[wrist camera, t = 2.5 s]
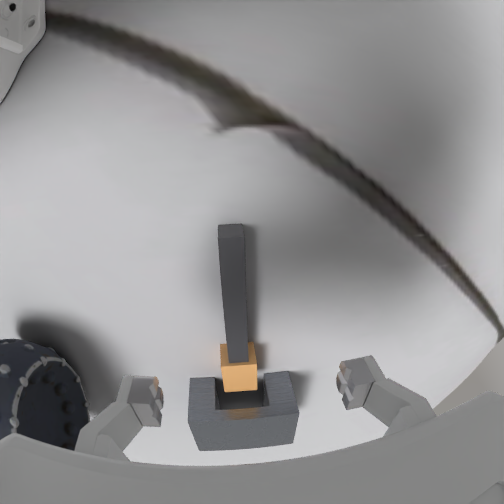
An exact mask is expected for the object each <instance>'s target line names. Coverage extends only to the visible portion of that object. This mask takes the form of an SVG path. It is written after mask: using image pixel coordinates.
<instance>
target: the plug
mask: <svg viewBox="0 0 504 504" xmlns="http://www.w3.org/2000/svg"><path fill="white" fill-rule="evenodd" d="M218 246H219V260H220V273H221V285H222V297H223V309H224V320H225V330H226V341H227V344H220V352H221V370H222V377H223V385H224V391H225V392H235V391H248V390H257V361H256V355H255V349H254V343H253V342H248V331H247V302H246V271H245V239H244V232H243V228H242V224H226V225H218Z"/></svg>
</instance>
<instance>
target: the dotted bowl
mask: <svg viewBox="0 0 504 504" xmlns="http://www.w3.org/2000/svg"><path fill="white" fill-rule="evenodd" d="M88 406H89V403H88V401H87V400H86V396H85V393H84V390H83V387H82V385H81V382H80V377H79V375H77V374H76V373H75V372H74V370H73V369H72V368H71V366H70V365H69V364H68V363H67V362H66V361H65V359H64V358H61V357H59V356H58V355H57V353H56V352H55V350H54V349H52V348H51V347H43V346H41V345H38V344H36V343H33V342H30V341H25V340H20V339H3V340H0V440H1V439H3V438H4V437H6V436H8V435H10V434H12V433H17V434H21V435H23V436H26V437H29V438H32V439H35V440H38V441H41V442H44V443H47V444H50V445H54V446H57V447H61V448H64V449H68V450H72V451H74V450H75V446H76V443H77V440H78V436H79V433H80V430H81V429H82V428H83V427H84V426H85V425H87V424H88V423H89V422H90V417H89V410H88Z"/></svg>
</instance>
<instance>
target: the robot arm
mask: <svg viewBox="0 0 504 504" xmlns="http://www.w3.org/2000/svg"><path fill="white" fill-rule="evenodd" d="M34 22H35V23H34ZM33 23H34V25H33ZM32 25H33V26H32ZM45 29H46V22H45V0H0V103H1V102H2V100H3V99H4V97H5V95H6V94H7V92H8V90H9V88H10V87H11V85H12V83H13V81H14V79H15V76H16V74H17V72H18V70H19V68H20V66H21V64H22V62H23V60H24V59H25V57H26V56H27V55H28V54H29V53H30V51H31V50H32V49H33V48H34V47H35V46H36V45H37V43H38V42H39V41H40V40H41V38H42V37H43V35H44V33H45ZM339 368H340V370H341V371H340V372H339V373H338V374H337V378H336V382H337V388H338V391H339V392H340V393H341V394H343V398H342V401H343V403H344V405H345V408H346V410H349V409H354V408H359V407H363V408H365V409H366V410H367V411H368V412H370V413H371V414H372V415H374V416H375V417H376V418H377V419H379V420H380V421H381V422H383V423H384V424H385V425H387V426H388V427H389V428H388V430H387V431H386V433H385V434H384V436H383V437H382V438H379V439H376V440H372V441H369V442H366V443H362V444H359V445H355V446H351V447H348V448H344V449H340V450H335V451H331V452H327V453H322V454H317V455H312V456H307V457H301V458H295V459H289V460H282V461H274V462H265V463H256V464H244V465H226V466H178V465H161V464H149V463H139V462H131V461H130V460H129V459H128V458H127V457H126V455H125V454H124V453H123V450H124V449H125V448H126V447H127V446H128V444H129V443H130V442H131V441H132V440H133V438H134V437H135V436H136V435H137V434H138V432H139V431H140V430H141V429H142V428H143V427H142V426H150V427H160V426H161V418H162V414H161V412H160V410H161V409H162V408H163V402H164V401H163V392H162V389H161V388H160V387H159V386H158V384H159V381H158V379H157V377H149V376H131V375H124V377H123V378H122V381H121V385H120V388H119V391H118V395H117V399H116V402H112V403H111V404H110V405H109V406H108V407H106V408H105V409H104V410H103V411H102V412H101V413H99V414H98V415H97V416H96V417H95V418H94V419H92V420H91V421H90V422H89V423H88V424H87V425H85V426H84V427H83V428H82V429H81V430H80V433H79V436H78V440H77V443H76V446H75V450H74V451H72V450H68V449H64V448H61V447H57V446H54V445H50V444H47V443H44V442H41V441H38V440H35V439H32V438H29V437H26V436H23V435H21V434H17V433H12V434H10V435H8V436H6V437H4V438H3V439H1V440H0V504H504V396H503V395H500V394H498V393H496V392H493V391H486V392H483V393H481V394H480V395H478V396H476V397H474V398H472V399H471V400H469V401H467V402H465V403H463V404H461V405H459V406H457V407H455V408H453V409H451V410H449V411H447V412H445V413H443V414H441V415H438V416H436V414H435V413H434V411H433V409H432V408H431V406H430V404H429V403H428V401H427V399H426V398H424V397H422V396H420V395H419V394H417V393H415V392H413V391H411V390H409V389H407V388H406V387H404V386H402V385H400V384H398V383H396V382H395V381H393V380H391V379H389V378H388V379H386V378H385V376H384V374H383V373H382V371H381V369H380V367H379V366H378V364H377V362H376V361H375V359H374V357H373V356H366V357H362V358H356V359H351V360H346V361H342V362H341V363H340V366H339Z"/></svg>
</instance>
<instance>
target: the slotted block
mask: <svg viewBox="0 0 504 504" xmlns="http://www.w3.org/2000/svg"><path fill="white" fill-rule="evenodd" d="M298 417H299V410H298V406H297V402H296V399H295V395H294V391H293V387H292V384H291V380H290V376H289V373H288V371H285V372H276V373H267V374H264V395H263V407H256V408H244V409H230V410H220V405H219V400H218V395H217V389H216V383H215V377H213V378H190V388H189V406H188V423H189V426H190V429H191V431H192V434H193V436H194V439H195V441H196V444H197V446H198V449H199V451H216V450H236V449H250V448H260V447H269V446H277V445H284V444H291V443H293V440H294V436H295V431H296V426H297V422H298Z"/></svg>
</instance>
